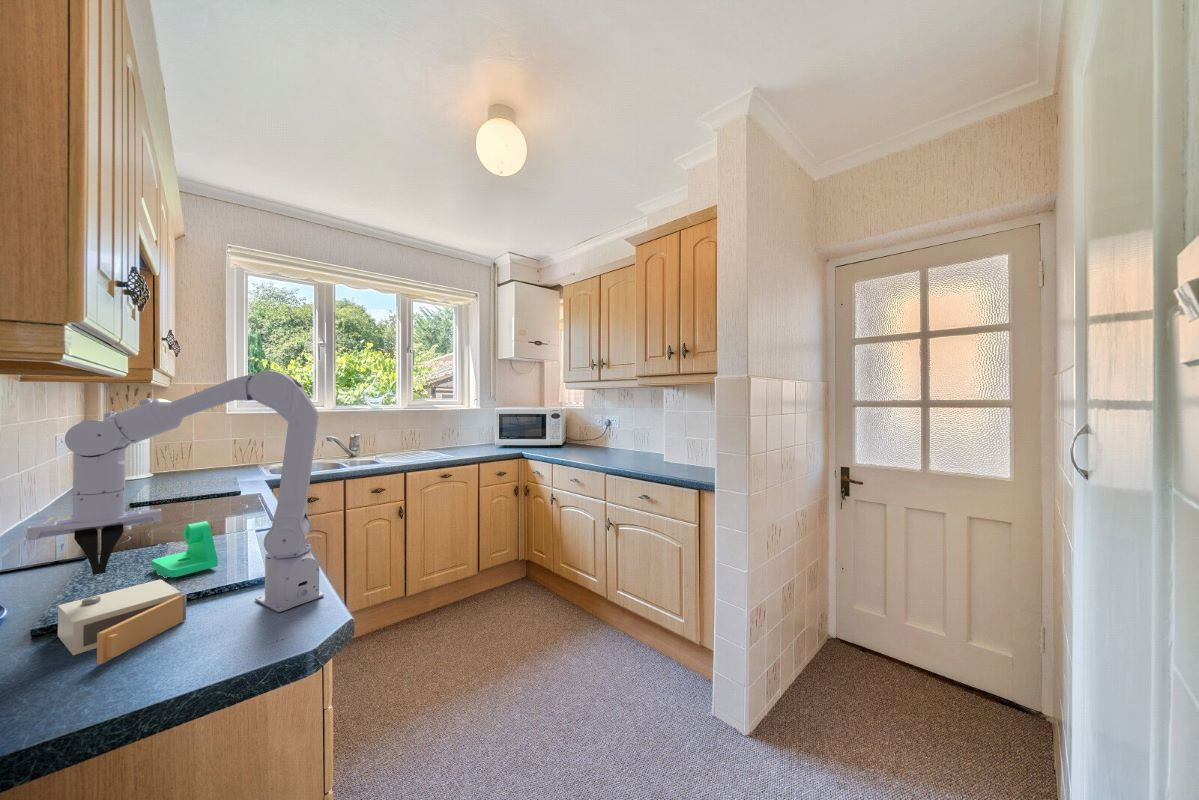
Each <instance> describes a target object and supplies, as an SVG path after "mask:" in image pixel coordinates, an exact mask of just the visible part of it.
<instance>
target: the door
mask: <svg viewBox="0 0 1199 800" xmlns="http://www.w3.org/2000/svg"><path fill="white" fill-rule="evenodd" d="M186 620H187V593H181V594H180V595H178V596H176V597H174V598H172V599H170V600H168V601H166V602H164V603H161V604H159V605H157V606H155V607H153V608H151V609H149V610H146V611H144V612H142V613H140V614H138V615H136V616H133V617H131V618H129V619H127V620H125V621H123V622H121V623H118V624H116V625H114V626H112V627H110V628H108V629H105V630H103V631H101V632H99V633H97V648H96V665H97V664H98V665H102V664H103V665H104V664H105V663H107V662H108V661H110V660H112V659H115V658H116V657H118V656H120V655H121V654H123V653H125V652H127V651H129V650H132V649H133V648H135V647H137V646H138V645H141V644H142V643H144V642H147V641H148V640H150V639H153V637H156V636H158V635H159V634H161V633H163V632H165V631H167V630H168V629H170V628H173V627H174V626H176V625H178V624H180V623H182V622H184V621H186Z"/></svg>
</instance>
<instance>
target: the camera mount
mask: <svg viewBox="0 0 1199 800" xmlns="http://www.w3.org/2000/svg"><path fill="white" fill-rule="evenodd" d="M183 539H184V541H185V543H186V545H188V546H187V548H186V551H183V552H178V553H174V554H171V555H166V556H162V557H158V558H154V559H152V560H151V568H152V569H153V570H156V573H158V574H160V575H162V576H164V577H166V576H169V577H170V578H177V577H182V576H185V575H190V574H193V573H197V572H200V571H205V570H209V569H211V568H216V567H218V566H219V565H218V564H219V558H218V554H217V550H216V546H215V542H214V539H213V535H212V530H211V525H210V523H209V522H208V521H207V520H205V521H204V520H203V521H200V522H199V521H198V522H193V523H189V524H186V525H185V526H184V528H183Z"/></svg>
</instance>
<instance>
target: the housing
mask: <svg viewBox="0 0 1199 800" xmlns="http://www.w3.org/2000/svg"><path fill="white" fill-rule="evenodd" d="M180 594H182V593H181V591H180V590H178V589H176V588H175V587H174V586H172V585H170V584H169V583H168V582H166V581H164V580H162V579H156V580H152V581H148V582H145V583H140V584H136V585H133V586H129V587H124V588H119V589H117V590H113V591H110V592H104V593H102V594H97V595H94V596H90V597H89V596H88V597H85V598H82V599H78V600H74V601H70V602H66V603H62V604H58V606H57V637H58V638H59V640H60V641H61V642H62V644H64V646H65V648H66V649H67V651H69V652H70V653H71V654H72V656H75V655H79V654H82V653H85V652H86V653H87V652H88V651H91V650H95V649H97V633H99V632H101V631H103V630H105V629H108V628H110V627H112V626H114V625H116V624H118V623H121V622H123V621H125V620H127V619H129V618H131V617H133V616H136V615H138V614H140V613H142V612H144V611H146V610H149V609H151V608H153V607H155V606H157V605H159V604H161V603H164V602H166V601H168V600H170V599H172V598H174V597H176V596H178V595H180Z"/></svg>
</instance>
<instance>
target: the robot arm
mask: <svg viewBox="0 0 1199 800" xmlns="http://www.w3.org/2000/svg"><path fill="white" fill-rule="evenodd" d="M233 401H247V402H248V401H255V402H257V403H259V404H261V405H264V406H265V407H268V408H270V409H273V410H274V411H275V412H276V413H278V415H279V416H281V417H282V418H283V419H284V420H285V421H286V422H287V424H288V425H287V431H286V436H285V447H284V452H283V460H282V468H281V476H280V483H279V491H278V496H277V497H278V498H277V504H276V507H275V512H274V513H273V518H272V525H271V526H270V529H269V530H268V531H267V532H266V534H265V536H264V539H263V547H264V550H265V555H264V556H265V559H264V560H265V562H264V564H265V566H264V594H262V595H259V596H255V598H254V601H256V602H258V603H259V604H262V605H264V606H266V607H268V608H270V609H271V610H272V611H274V612H277V613H281V612H284V611H287V610H289V609H292V608H294V607H298V606H300V605H303V604H305V603H309V602H311V601H314V600H317V599H319V598H322V597H324V596H325V593H324V592H322V591H320V565H319V563H318V561H317V560H316V559H315V558H314V557H313V556H312V547H311V546H312V544H310V542H309V541H308V540H307V536H308V535H309V533H310V532H311V530H312V523H311V521H310V518H309V516H308V512H309V511H308V509H309V507H308V505H309V504H308V498H309V490H310V482H311V476H312V475H311V474H312V469H313V468H312V466H313V459H314V453H315V451H314V450H315V446H316V437H317V430H318V423H319V422H318V421H319V412H318V410H317V408H316V406H315V405H314V403H313V401H312V400H311V398H310V397H309V395H308V393H307V392H306V390H305V388H304V386H303V384H302V383H301V382H299V381H298V380H297V379H295V378H294V377H293V376H291V375H289V374H287V373H284V372H279V371H277V370H262V371H260V372H257V373H256V374H246V375H243V376H239V377H235V378H233V379H229V380H226V381H224V382H223V381H222V382H221V383H218V384H216V385H213V386H210V387H207V388H204V389H203V390H200V391H198V392H195V393H192V394H189V395H186V396H184V397H181V398H179V399H176V400H173V401H170V400H167V399H165V398H156V399H152V398H144V399H141V400H139V401H138V403H139V404H138V405H135V406H132V407H130V408H126V409H124V410H120V411H117V412H115V411H108V412H105V413H104V414H103V416H104V418H103V419H84V420H82V421H81V422H79V423H77V424H75V425H73V426H71V427H70V428H69V429H68V430H67V431H66V434H65V436H64V442H65V445H66V447H67V448H68V449H69V451H71V452H73V468H72V471H73V475H72V518H70V519H64V520H57V521H52V522H46V523H39V524H32V525H28V527H27V529H26V535H27V536H26V537H27V540H26V541H28V542H29V541H35V540H39V539H42V538H50V537H56V536H63V535H70V534H74V536H73V538H74V541H75V542H76V544H77V545H78V546H79V547H80V548H81V550H82V551H83V553H84V554H85V556H86V558H87V559H88V561H89V564H90V567H91V572H92V576H96V575H101V574H105V573H106V572H107V571H106V570H107V566H108V562H109V561H110V557H111V555H112V552H113V551H114V549H115V546H116V544H117V543H118V541H120V539H121V537H122V535H123V533H124V531H125V530H124V526H133V525H138V524H145V523H157V522H162V521H163V520H162V517H163V515H162V514H163V513H162V512H163V510H162V509H161V508H155V509H147V510H146V509H144V510H133V511H126V449H127V448H128V447H129V446H130V445H132V444H137V443H139V442H142V441H145V440H148V439H150V438H153V437H156V436H158V435H161V434H165V433H166V432H169V431H172V430H174V429H178V428H179V427H180V426H181V423H182V421H183V419H185V418H186V417H188V416H189V417H190V416H192V415H194V414H197V413H200V412H203V411H207V410H210V409H213V408H215V407H218V406H223V405H224V404H229V403H230V402H233ZM99 530H100V553H99V554H100V555H98V551H99V549H98V547H99V546H98V545H99V542H98V541H99V539H98V538H99Z"/></svg>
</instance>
